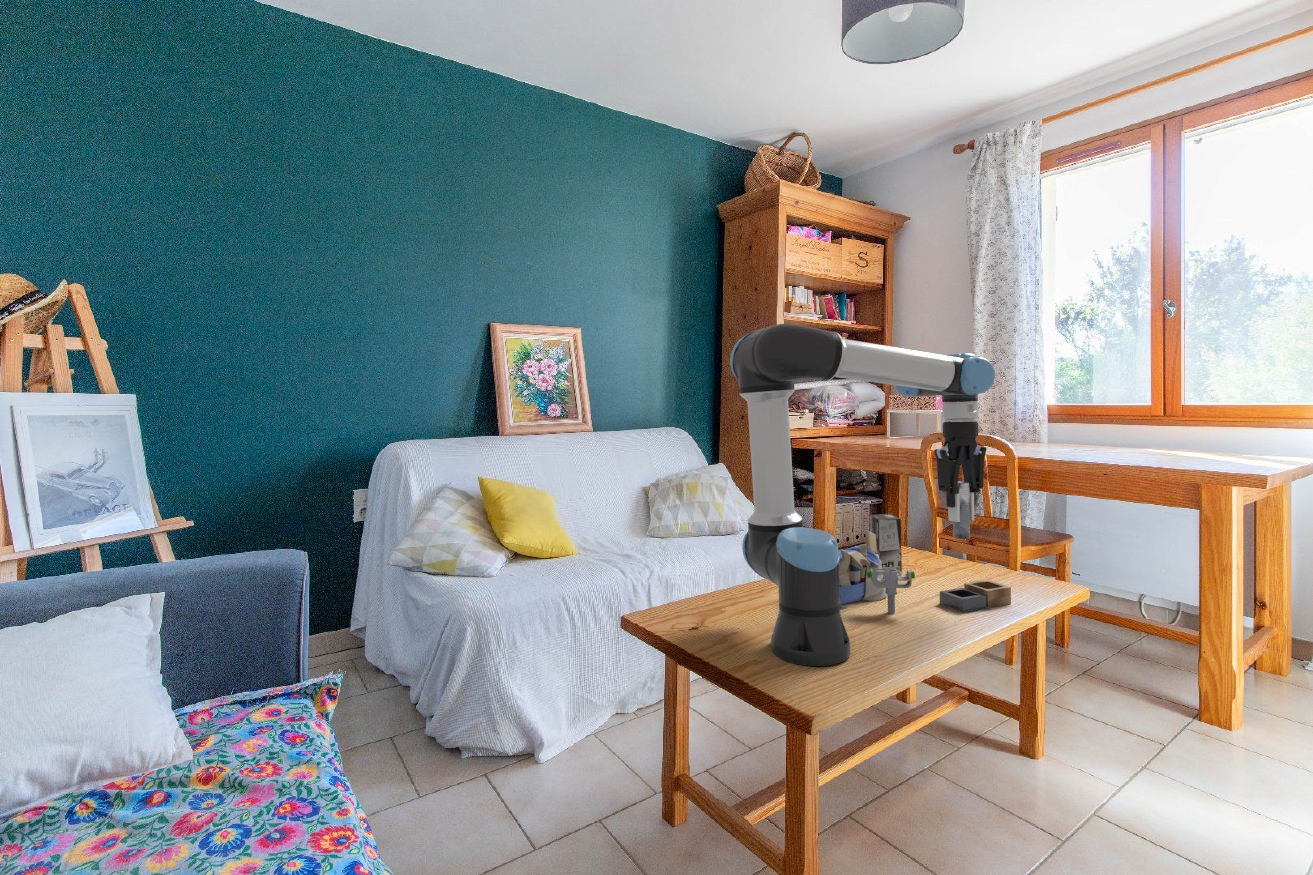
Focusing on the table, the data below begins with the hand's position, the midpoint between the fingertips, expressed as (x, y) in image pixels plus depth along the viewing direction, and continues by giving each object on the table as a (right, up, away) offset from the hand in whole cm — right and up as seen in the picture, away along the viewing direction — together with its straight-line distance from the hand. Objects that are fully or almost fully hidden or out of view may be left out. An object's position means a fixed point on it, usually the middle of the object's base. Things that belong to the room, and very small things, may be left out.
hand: (961, 520), depth 148 cm
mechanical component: (-17, -22, -2) cm, 28 cm away
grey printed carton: (-6, -19, +33) cm, 38 cm away
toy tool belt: (-25, -21, +9) cm, 35 cm away
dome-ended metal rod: (0, -4, 0) cm, 4 cm away
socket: (+1, -20, +1) cm, 20 cm away
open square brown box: (+8, -20, +3) cm, 22 cm away
